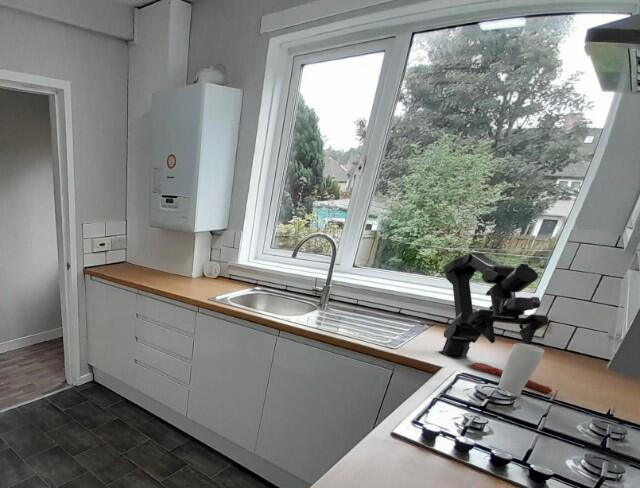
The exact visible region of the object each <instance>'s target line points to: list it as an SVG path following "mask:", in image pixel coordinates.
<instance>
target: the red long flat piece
mask: <svg viewBox="0 0 640 488" xmlns="http://www.w3.org/2000/svg"><path fill="white" fill-rule="evenodd" d="M470 366H471V368H472V369H474V370H476V371H479V372H483V373H490V374H491V375H495V376H498V377H501V376H502V373H503V370H504V369H501V368H498V367H494V366H492V365H491V364H486V363H483V362H472V363H471V365H470ZM525 387H528V388H531V389H533V390H536V391H539V392H541V393H544V394H550V393H552V392H553V388H552V387H550V386H548V385H544V384H542V383H539V382H537V381H534V380H531V379H529V380H528V382H527V383H526V385H525Z"/></svg>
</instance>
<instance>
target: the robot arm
mask: <svg viewBox="0 0 640 488" xmlns="http://www.w3.org/2000/svg"><path fill="white" fill-rule="evenodd" d="M476 272H479V273H481V274H482V275H481V279H482V281H483V282H484V283H485V284H491V285H493V286H492V287H490V288H489V289H488V290H487V291H486V293H485V296H489V297H490V301H491V305H490V306H489V307H488V309H484V308H483V309H482V308H478V309H477V310H475V311H474V309H473V301H472V292H471V291H472V290H471V283H470V280H471V279H472V278H473V276H474V275H475V273H476ZM444 273H445V277H446V280H447V281H448V282H449V283H450V284H451V285H452V292H453V302H454V303H453V304H454V310H455V311H454V312H455V317H454V319H453V320H452V322H451V323H450V325H449V326H448V327H447V328H446V329H445V330H444V331H443V337H444V338H445V339H446V340H445V343H444V345H443V347H442V350H439V351H438V353H439V354H442V355H444V356H447V357H451V358H453V359H466V358H468V353H469V350H470V344H471V343H474V344H475V343H477V341H478V339H479V338H480V337H481V335H482V336H483V337H485V338H486V339H487V340H488V341H489V343H491V344H494V343H496V335H495V328H494V324H495V323H500V324H510V325H518V327H519V329H520V330H519V331H518V332H519V334H520V337H521V339H522V342H523V344H528V345H532V342H533V339H534V336H535V333H536V332H537V331H539V330H540V329H542V328H543V327H544V326H546V325H548V324H550V321H549V320H550V319H549V317H548V316H547V315H544V314H535V313H531V314H530V315H528V316H527V317H520V316H524V314H525V312H526V311H532V310H534V309H538V308H540V306H541V300H540V297H538V296H532V297H521V296H516V293H520V292H522V291H523V290H525V289H526V288H528V286H530V285H531V284H533V283H534V282H535V281H537V280H538V278H539V274H538V272H537V271H536V270H535V269H533V267H530V266H529V264H528V263H519V264H518V265H517V266H516V267H515V266H511V265H504V264H499V263H497V262H495V261H494V260H493V259H491V258H489V257H487V256H485V254H484V253H481V252H466V253H465V254H464V255H462V256H459V257H456V258H453V259H452V260H451V261H450V262H449V263H447V264H446V266H445V267H444Z"/></svg>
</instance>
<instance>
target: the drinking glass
mask: <svg viewBox="0 0 640 488" xmlns="http://www.w3.org/2000/svg"><path fill="white" fill-rule="evenodd" d="M544 354H545V349H544V348H542V347H539V346H536V345H533V344H531V345H528V344H524V343H520V342H519V343H518V342H517V343H514V344H513V345H512V347H511V348H510V351H509V354H508V355H507V358H506V361H505V364H504V367H503V369H502V370H503V373H502V376H500V378H499V382H498V384H497V387H499V388H501V389H503V390H505V391H508V392H510V393H513V394H515V395H512V396H513V397H512V398H519V397H520V396H521V394H522V392H523V390H524V388H525V387H526V386H525V385H526V383H527V382H528V380H531V377H532V376H533V374H534V372H535V371H536V370H537V367H538V366H539V364H540V362H541V361H542V358H543V356H544Z"/></svg>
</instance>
